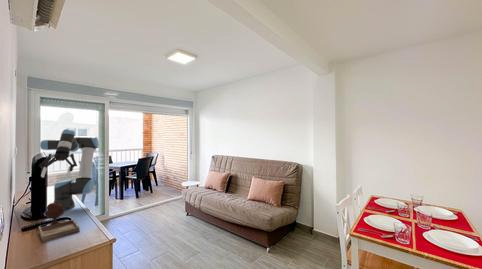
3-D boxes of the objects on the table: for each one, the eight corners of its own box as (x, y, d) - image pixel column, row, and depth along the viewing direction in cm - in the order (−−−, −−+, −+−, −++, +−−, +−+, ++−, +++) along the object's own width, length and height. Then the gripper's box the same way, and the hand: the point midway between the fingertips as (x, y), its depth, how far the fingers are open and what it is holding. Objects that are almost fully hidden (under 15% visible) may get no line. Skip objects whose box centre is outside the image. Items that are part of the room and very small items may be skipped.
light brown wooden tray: (39, 232, 134) (38, 227, 134) (73, 223, 148) (73, 219, 148) (42, 242, 123) (42, 237, 123) (79, 231, 136) (79, 226, 136)
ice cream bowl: (52, 228, 141) (52, 205, 141) (39, 226, 143) (39, 204, 143) (68, 221, 151) (68, 200, 151) (56, 220, 153) (56, 199, 153)
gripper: (39, 146, 142) (28, 174, 131) (83, 145, 151) (76, 172, 139) (44, 151, 148) (33, 179, 136) (86, 150, 156) (79, 177, 145)
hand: (55, 176), depth 138 cm, fingers open, 13 cm apart
